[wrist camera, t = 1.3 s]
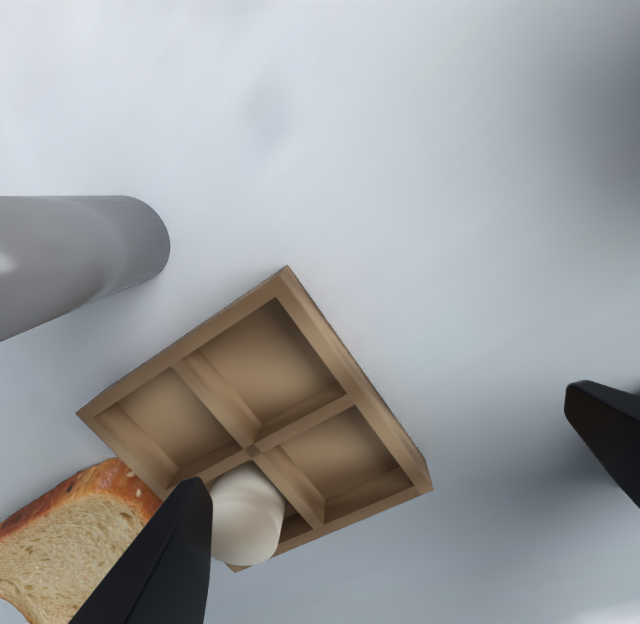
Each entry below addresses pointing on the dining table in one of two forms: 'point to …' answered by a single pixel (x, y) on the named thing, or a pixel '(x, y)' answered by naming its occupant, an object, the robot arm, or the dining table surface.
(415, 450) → the caddy
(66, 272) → the grey rounded cylinder
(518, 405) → the dining table surface
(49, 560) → the slice of bread
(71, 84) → the dining table surface
